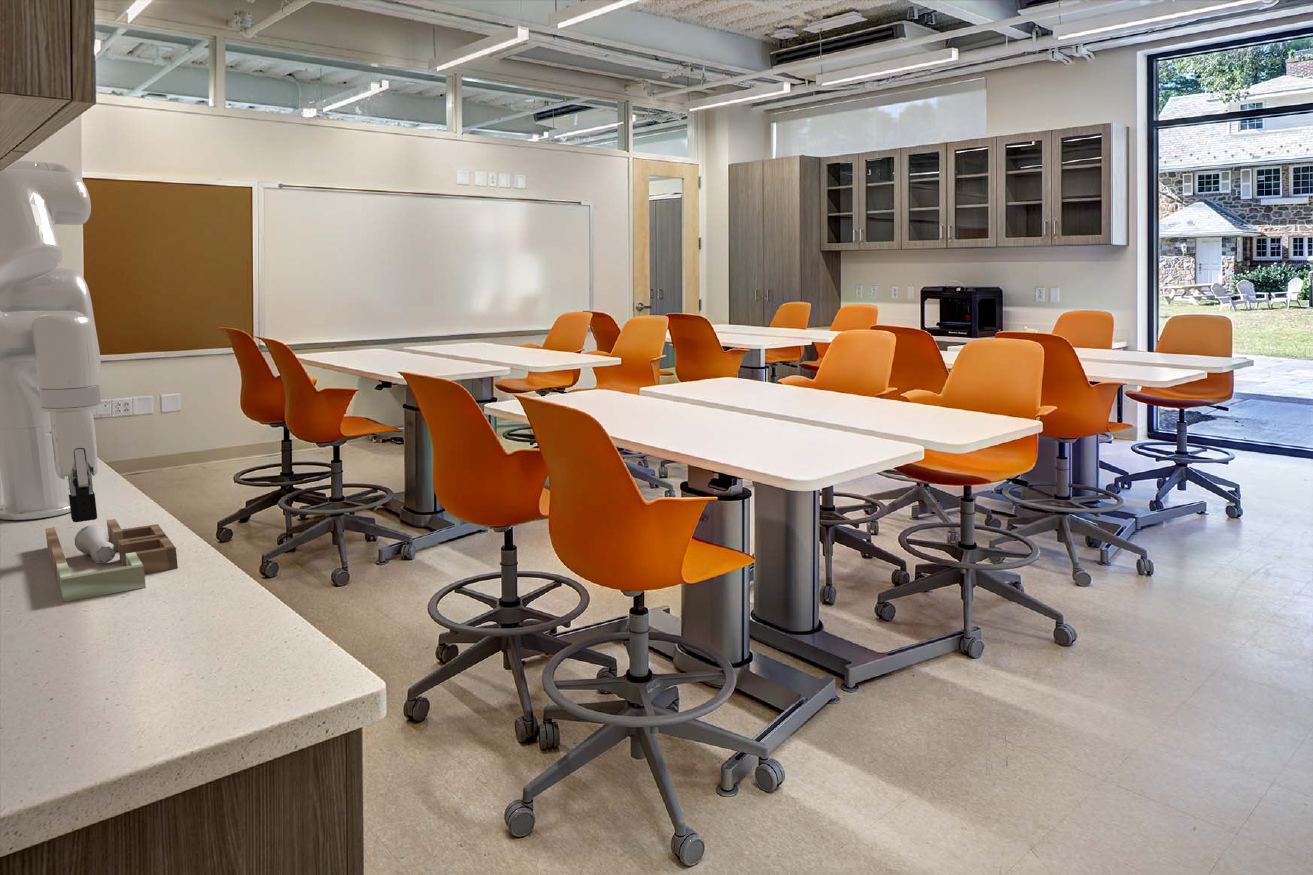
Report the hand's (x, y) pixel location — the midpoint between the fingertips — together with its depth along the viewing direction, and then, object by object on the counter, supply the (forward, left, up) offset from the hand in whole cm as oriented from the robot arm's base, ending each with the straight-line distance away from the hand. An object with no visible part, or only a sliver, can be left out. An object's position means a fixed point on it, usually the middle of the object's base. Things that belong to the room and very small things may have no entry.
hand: (84, 519), depth 139 cm
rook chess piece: (0, 0, -3) cm, 3 cm away
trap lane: (+5, +6, -5) cm, 9 cm away
